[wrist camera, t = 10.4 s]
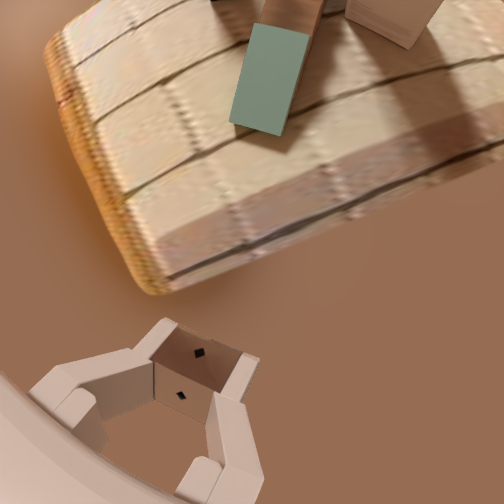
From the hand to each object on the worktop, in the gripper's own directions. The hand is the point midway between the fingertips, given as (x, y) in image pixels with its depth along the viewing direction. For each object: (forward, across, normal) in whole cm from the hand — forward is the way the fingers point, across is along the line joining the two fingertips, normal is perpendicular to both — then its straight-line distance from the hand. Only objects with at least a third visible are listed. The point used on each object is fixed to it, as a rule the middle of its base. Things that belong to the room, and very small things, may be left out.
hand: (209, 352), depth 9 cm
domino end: (+23, +7, -3) cm, 24 cm away
